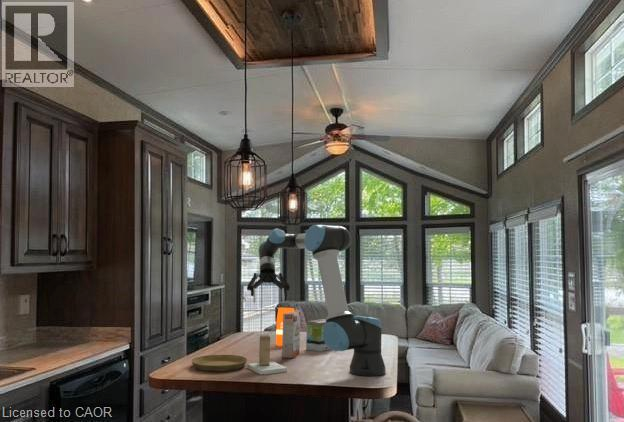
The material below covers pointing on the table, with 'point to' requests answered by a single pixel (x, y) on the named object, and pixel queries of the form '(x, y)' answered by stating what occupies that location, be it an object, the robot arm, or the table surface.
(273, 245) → the robot arm
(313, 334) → the tea box
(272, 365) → the board
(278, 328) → the orange juice
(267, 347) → the block
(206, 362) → the plant saucer
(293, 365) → the table surface
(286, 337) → the cracker box
